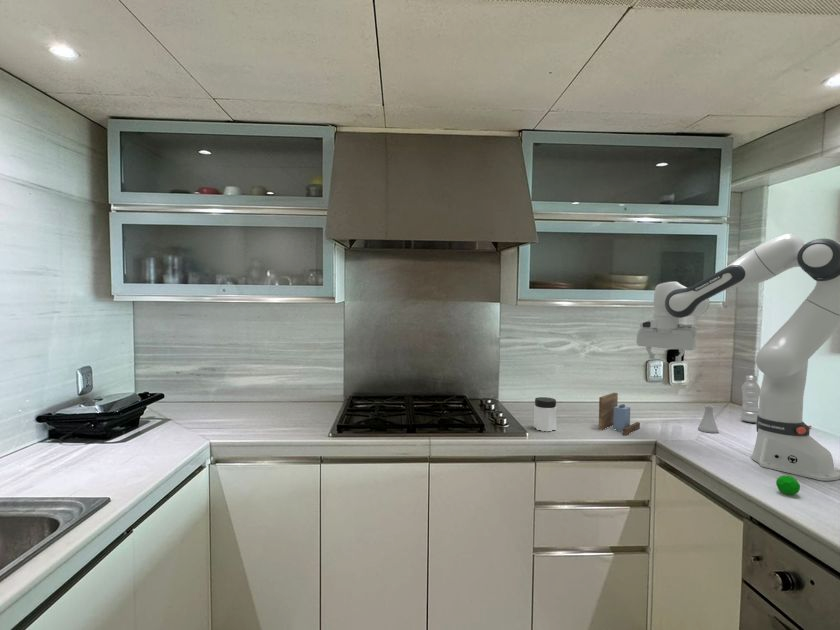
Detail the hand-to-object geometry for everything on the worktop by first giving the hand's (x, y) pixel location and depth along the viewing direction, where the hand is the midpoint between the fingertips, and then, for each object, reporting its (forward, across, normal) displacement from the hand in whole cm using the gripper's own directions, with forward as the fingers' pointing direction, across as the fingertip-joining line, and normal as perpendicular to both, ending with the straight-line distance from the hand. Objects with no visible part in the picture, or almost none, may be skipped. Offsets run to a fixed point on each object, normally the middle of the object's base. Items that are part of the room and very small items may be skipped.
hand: (664, 359), depth 175 cm
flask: (+29, -11, -20) cm, 37 cm away
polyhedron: (+29, -42, +33) cm, 61 cm away
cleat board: (+29, +15, +4) cm, 33 cm away
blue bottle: (+29, +14, +4) cm, 33 cm away
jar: (+29, +35, +27) cm, 53 cm away
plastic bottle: (+29, -19, -49) cm, 60 cm away
